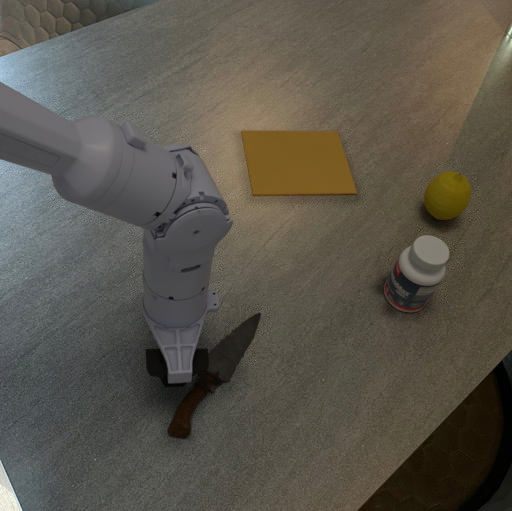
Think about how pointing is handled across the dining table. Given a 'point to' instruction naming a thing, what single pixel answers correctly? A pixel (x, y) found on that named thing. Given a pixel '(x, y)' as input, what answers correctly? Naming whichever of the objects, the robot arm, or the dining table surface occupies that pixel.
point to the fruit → (447, 195)
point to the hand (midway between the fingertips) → (172, 349)
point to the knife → (214, 373)
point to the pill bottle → (417, 274)
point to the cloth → (297, 163)
